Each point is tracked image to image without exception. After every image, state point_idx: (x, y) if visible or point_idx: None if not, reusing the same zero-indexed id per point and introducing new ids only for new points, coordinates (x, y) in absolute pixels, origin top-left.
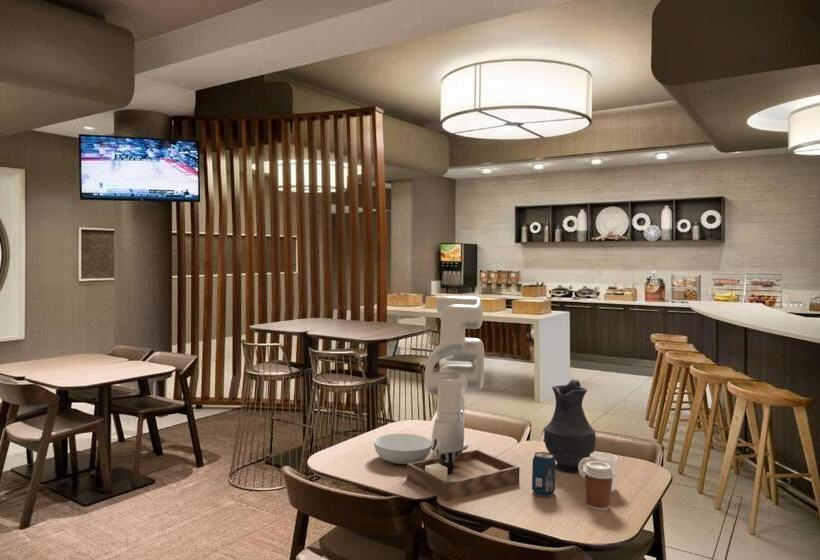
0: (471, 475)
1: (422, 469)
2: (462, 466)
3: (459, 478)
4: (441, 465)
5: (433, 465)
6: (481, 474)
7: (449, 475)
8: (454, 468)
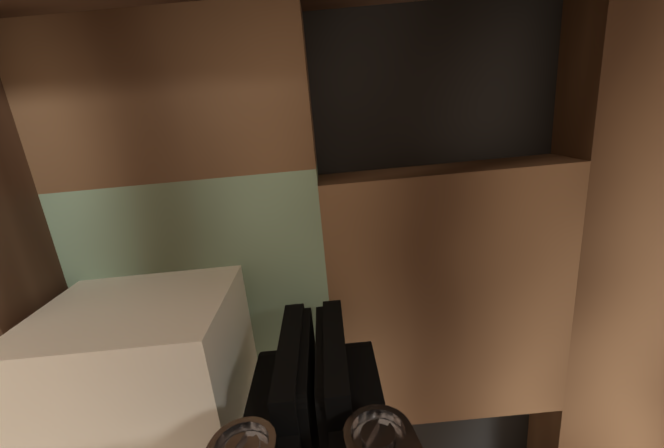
0: (537, 381)
1: (157, 9)
2: (653, 138)
3: (392, 400)
4: (208, 429)
5: (94, 393)
6: (629, 393)
7: (353, 308)
8: (578, 69)
